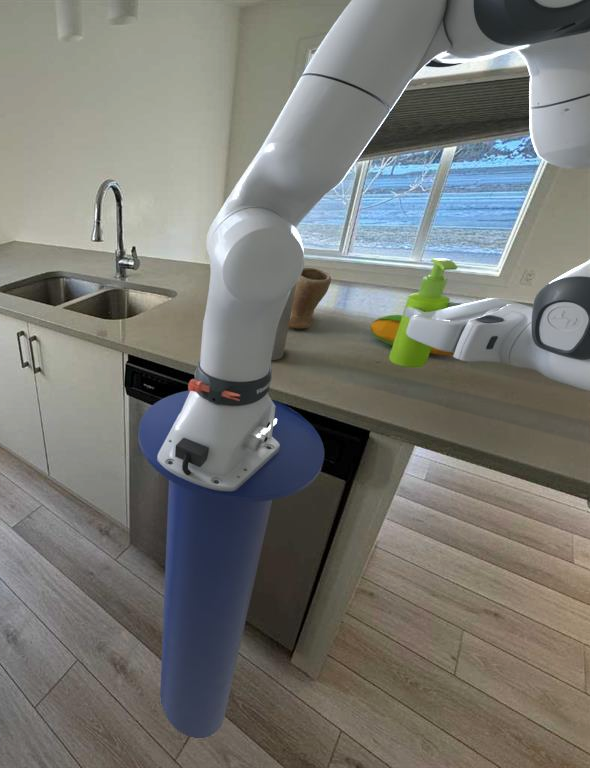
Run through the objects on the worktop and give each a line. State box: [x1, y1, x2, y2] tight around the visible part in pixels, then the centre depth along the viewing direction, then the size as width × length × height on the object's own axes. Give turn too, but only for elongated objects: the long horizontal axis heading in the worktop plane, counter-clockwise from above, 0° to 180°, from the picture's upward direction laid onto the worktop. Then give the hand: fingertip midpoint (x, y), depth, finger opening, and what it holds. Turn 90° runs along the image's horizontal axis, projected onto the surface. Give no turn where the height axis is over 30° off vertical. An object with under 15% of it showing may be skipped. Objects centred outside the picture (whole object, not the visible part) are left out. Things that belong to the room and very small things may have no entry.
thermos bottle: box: [271, 283, 297, 361], centre depth 93 cm, size 8×8×28 cm
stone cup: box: [288, 267, 332, 330], centre depth 111 cm, size 15×12×15 cm
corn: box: [370, 314, 454, 356], centre depth 93 cm, size 7×8×20 cm
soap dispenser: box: [388, 257, 458, 368], centre depth 75 cm, size 6×7×20 cm
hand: (422, 307), depth 75 cm, fingers closed on soap dispenser, 6 cm apart
